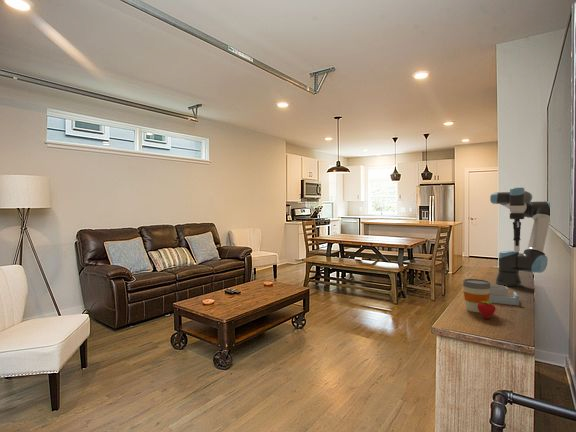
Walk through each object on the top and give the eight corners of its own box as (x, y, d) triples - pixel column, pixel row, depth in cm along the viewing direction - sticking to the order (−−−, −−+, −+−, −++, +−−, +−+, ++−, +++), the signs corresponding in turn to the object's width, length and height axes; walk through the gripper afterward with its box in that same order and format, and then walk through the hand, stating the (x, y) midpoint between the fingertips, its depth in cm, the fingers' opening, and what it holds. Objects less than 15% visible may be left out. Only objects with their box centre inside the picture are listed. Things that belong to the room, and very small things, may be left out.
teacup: (512, 303, 185) (512, 288, 185) (491, 302, 186) (491, 288, 186) (498, 296, 199) (498, 283, 199) (479, 296, 200) (479, 283, 200)
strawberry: (478, 315, 163) (478, 295, 163) (496, 318, 159) (496, 297, 159) (476, 318, 159) (476, 297, 159) (494, 322, 154) (494, 300, 154)
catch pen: (475, 294, 204) (475, 286, 204) (516, 298, 194) (516, 289, 194) (475, 300, 190) (475, 291, 190) (519, 305, 180) (519, 296, 180)
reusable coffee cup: (488, 315, 164) (489, 284, 164) (460, 310, 172) (460, 281, 172) (491, 309, 174) (492, 280, 174) (465, 305, 182) (465, 277, 182)
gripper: (508, 212, 213) (508, 249, 213) (510, 212, 201) (510, 251, 202) (523, 212, 209) (522, 250, 209) (525, 212, 198) (525, 252, 198)
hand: (516, 250), depth 206 cm, fingers closed
